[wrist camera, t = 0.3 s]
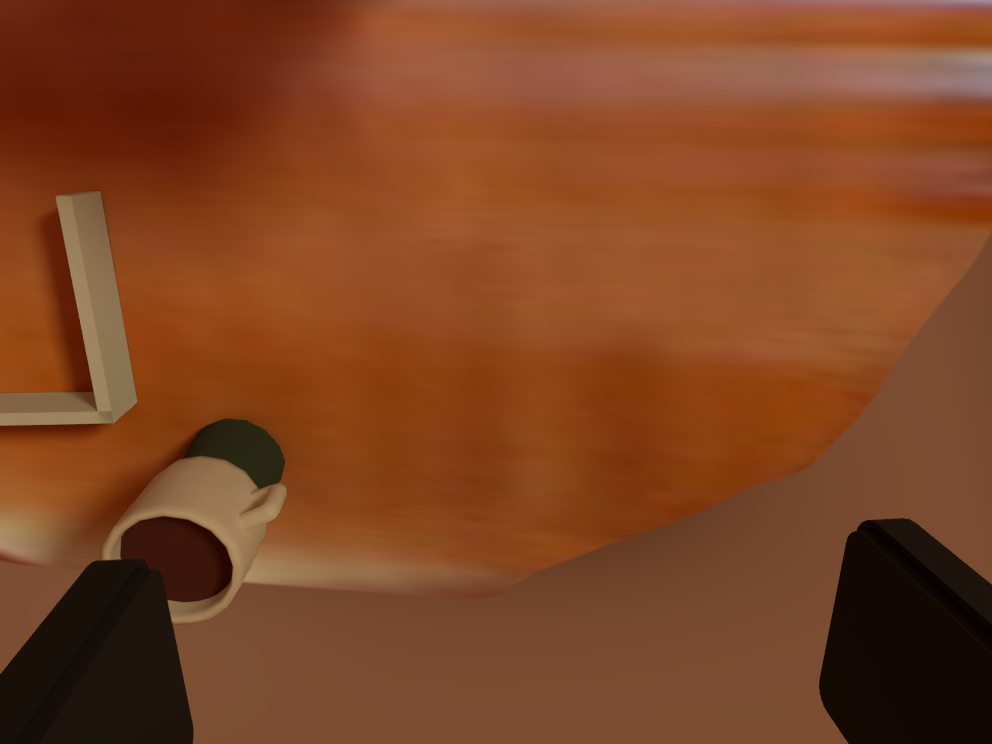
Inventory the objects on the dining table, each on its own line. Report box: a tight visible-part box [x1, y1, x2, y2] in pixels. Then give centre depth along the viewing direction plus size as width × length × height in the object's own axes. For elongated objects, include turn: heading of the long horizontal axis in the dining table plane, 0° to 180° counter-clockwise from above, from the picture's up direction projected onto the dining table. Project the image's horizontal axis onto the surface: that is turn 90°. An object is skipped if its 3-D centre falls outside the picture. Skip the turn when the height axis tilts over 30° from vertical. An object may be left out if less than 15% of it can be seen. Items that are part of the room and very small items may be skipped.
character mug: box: [101, 419, 287, 625], centre depth 41 cm, size 11×7×13 cm, turn 111°
